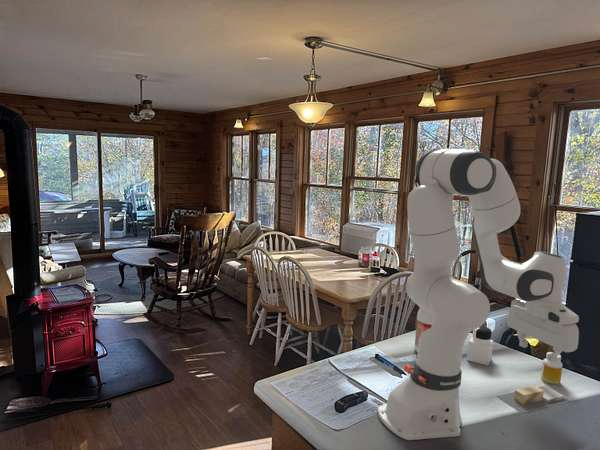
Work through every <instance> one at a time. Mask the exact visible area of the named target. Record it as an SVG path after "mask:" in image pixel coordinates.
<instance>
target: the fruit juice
mask: <svg viewBox="0 0 600 450" xmlns="http://www.w3.org/2000/svg"><path fill="white" fill-rule="evenodd" d="M433 319H434V318H433V314H432V313H430V312H428V311H426V310H424V309H423V308H421V307H419V309H418V311H417V315H416V328H415V339H414V350H415V352H416V353H418V346H419V337H420V335H421V334H422V333H423V332H424V331H426V330H428V329H430V328H431V326H432V324H433Z"/></svg>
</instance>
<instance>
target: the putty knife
mask: <svg viewBox="0 0 600 450" xmlns="http://www.w3.org/2000/svg"><path fill="white" fill-rule="evenodd" d="M514 392H515V396H514V400H516V401H517V402H519V403H521V404H522V405H525V404H529V403H533V402H537V401H542V400H543V401H545V402H546V403H550V402H554V401H558V400H562V399H564V398H565V395H563V394H561V392H558V391H557V390H554V389H553V388H550V387H549V386H547V385H543V387H541V386H537V385H532V386H531V385H530V386H527V387H522V388H518V389H515V390H514Z"/></svg>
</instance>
